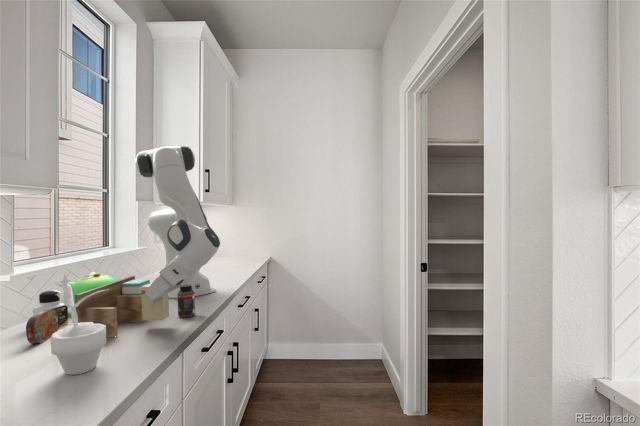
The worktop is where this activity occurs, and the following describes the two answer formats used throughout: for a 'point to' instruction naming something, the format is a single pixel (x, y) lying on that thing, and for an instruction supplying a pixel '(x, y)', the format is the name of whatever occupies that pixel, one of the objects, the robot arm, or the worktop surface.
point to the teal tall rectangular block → (134, 287)
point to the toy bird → (89, 283)
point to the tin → (42, 326)
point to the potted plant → (77, 338)
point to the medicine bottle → (52, 305)
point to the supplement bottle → (186, 301)
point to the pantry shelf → (109, 306)
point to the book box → (154, 306)
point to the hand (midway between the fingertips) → (153, 300)
